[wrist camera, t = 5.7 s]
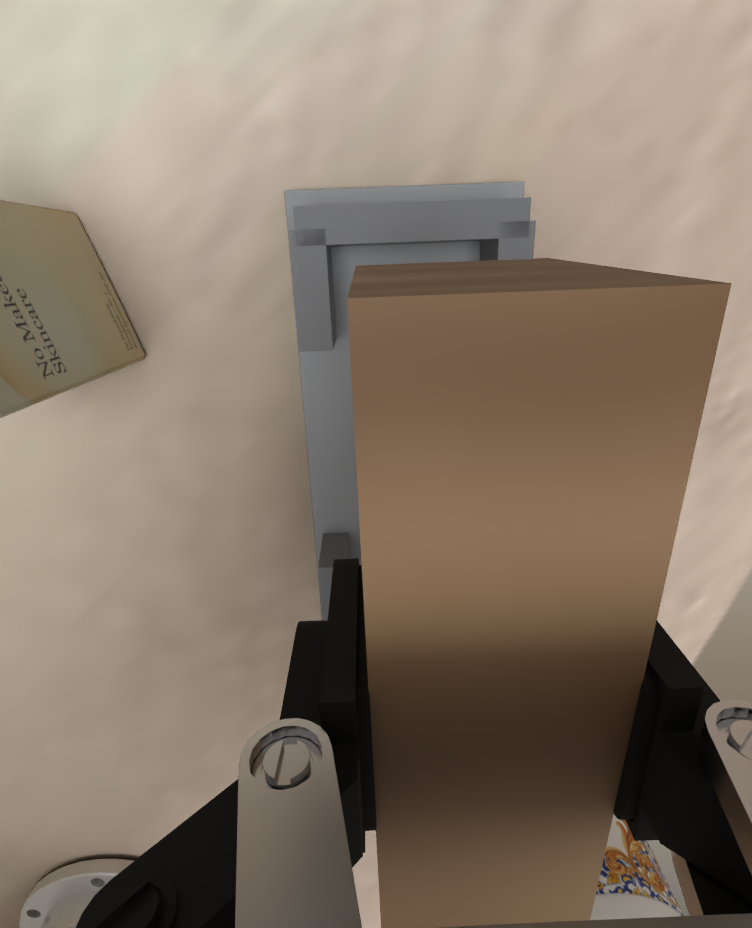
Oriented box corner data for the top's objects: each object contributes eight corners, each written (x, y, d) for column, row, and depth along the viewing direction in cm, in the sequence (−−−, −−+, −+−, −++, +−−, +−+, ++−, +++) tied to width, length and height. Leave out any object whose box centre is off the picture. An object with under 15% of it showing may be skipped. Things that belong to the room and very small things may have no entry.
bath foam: (577, 654, 29) (952, 1346, 11) (572, 746, 32) (868, 1436, 13) (452, 666, 29) (608, 1373, 11) (457, 757, 32) (590, 1457, 13)
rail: (494, 609, 28) (514, 662, 24) (324, 616, 28) (318, 671, 24) (517, 185, 21) (551, 168, 17) (287, 193, 21) (271, 179, 17)
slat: (505, 736, 17) (575, 986, 11) (378, 741, 17) (385, 994, 11) (548, 258, 11) (731, 284, 6) (356, 265, 11) (347, 298, 6)
